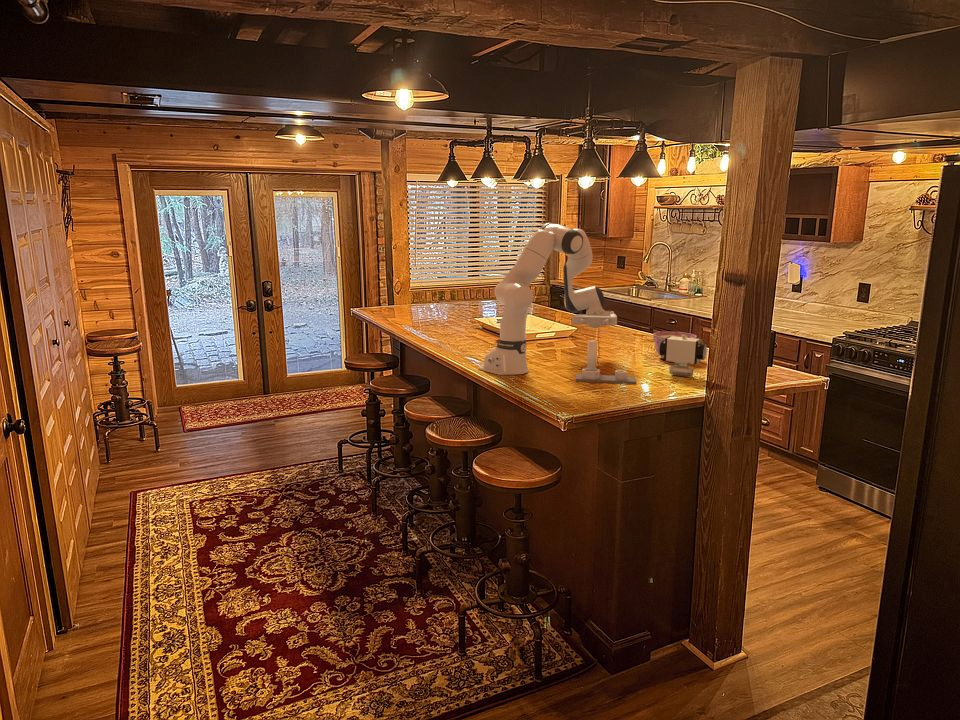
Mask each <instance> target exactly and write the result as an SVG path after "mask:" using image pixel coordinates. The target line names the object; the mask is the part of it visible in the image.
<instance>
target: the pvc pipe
mask: <svg viewBox="0 0 960 720" xmlns="http://www.w3.org/2000/svg"><path fill="white" fill-rule="evenodd" d="M586 354H587V355H586V368H596V369H597V361H598V360H597V359H598V358H597V357H598V356H597V355H598V341H597V340H595V339H591V340H590V339H589V340H587V353H586Z"/></svg>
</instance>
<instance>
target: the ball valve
mask: <svg viewBox="0 0 960 720" xmlns="http://www.w3.org/2000/svg"><path fill="white" fill-rule="evenodd" d="M707 350H708V347H707V344H706V343H703V338H696V339H695V338H686V335H682V337H673V336H669V337H667V338H665V340H662V341H661V343H660V349H659V352H660V355H661V356H660V355H659V356H660V357H662V356H663V361H664V362H672V363H674V364H671V365H670V366H669V370H668V371H669V375H672V376H677V377H685V378H689V377H693V375H694V367H693V366H690V365H687V364H691V365H697V364H699V363H700V362H701V361H705V359H706V356H707V352H708V351H707Z"/></svg>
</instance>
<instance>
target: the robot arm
mask: <svg viewBox="0 0 960 720" xmlns="http://www.w3.org/2000/svg"><path fill="white" fill-rule="evenodd" d="M552 251H556V252H558V253H563V254H566V256H567V261H566V262H565V264H564V265H563V271H562V272H563V276H562V277H563V289H564V296H563V297H564V298H563V302H564V307H565V309H566V311H568V312H570V313H572V316H571V324H573V325H587V326H588V327H590V328H595V329H596V328H601V327H607V326H617V325H618V316H617V314H616V313H615V311H613V310H605V309H604V308H605V305H606V301H605V296H604V293H603V291H602V289H601V288H600V287H599V286H597V285H593V286H588V287H586V288H581V289H576V290H574V289H573V280H574V278H575V277H577V276H578V275H580V274H581V273H583V272H585V271H586V270H588V268H590V266H591V265H592V263H593V259H594V257H593V256H594V255H593V249H592V246H591V243H590V240H589V238H588V236H587V234H586V232H585V231H584V229H581V228H573V229H572V228H570V227H568V226H565V225H563V224H558V223H555V222H547V223H544V224H542V225H541V226H540V227H539V229H538V230H536V231H535V232H534V233H533V235H532V236H531V237H530V239H529V240H528V241H527V243H526V245H525V246H524V248H523V250H522V252H521V253H520V254H519V257H518V259H517V260H516V262H515V264H514V265H513V267H512V268H511V269H510V270H509V272H508V273H507V274H506V275H505V276H504V278H503V279H502V280H501V281H500V282H499V283H497V284H496V286H495V288H494V297H495V298H496V300H497V301H498V302H499V303H500V304H501V305H503V306H504V309H503V313H502V318H501V319H500V322H499V339H497V340H495V341H494V344H496V347H494V348H493V349H492V350H490V351H489V352H488V353H487V354H485V356H484V359H483V364H481V365H479V366H478V370H481V371H484V372H488V373H491V374H495V375H499V376H506V375H523V374H527V373H529V368H528V363H527V356H526V355H527V339H526V330H527V329H526V327H527V326H526V325H527V318H528V314H529V309H530V306H531V305H532V304H533V301H534V293H533V290H532V289H531V288H530V287H529V286H530V285H531V283H533V281H534V280H536V279H538V277H539V276H540V274H541V272H542V270H543V269H544V267H545V265H546V263H547V261H548V259H549V257H550V255H551V254H552ZM583 310H586V313H585V314H584V313H583V314H582V313H580V314H579V313H578V312H579V311H583ZM574 313H576V314H574ZM577 313H578V314H577Z"/></svg>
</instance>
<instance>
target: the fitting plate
mask: <svg viewBox="0 0 960 720" xmlns="http://www.w3.org/2000/svg"><path fill="white" fill-rule="evenodd" d="M581 371H582V373H576V375H575V382H581V381H585V383H602V382H609V383H608V384H623V383H626V384H629V385H636V383H637V382H636V376H630V375H628V376H627V371H626V370H623V369H616V370H614V375H612V374H611V375H607V374H606V375H605V374H601V369H599V368H597V367H596V368H587V367H586V368H582V370H581Z"/></svg>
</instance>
